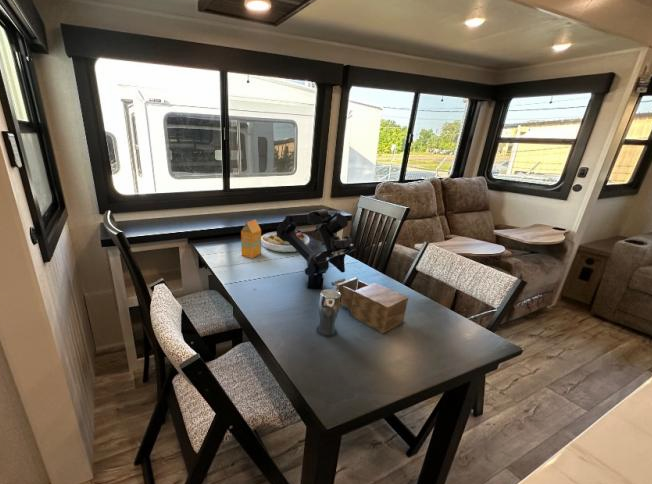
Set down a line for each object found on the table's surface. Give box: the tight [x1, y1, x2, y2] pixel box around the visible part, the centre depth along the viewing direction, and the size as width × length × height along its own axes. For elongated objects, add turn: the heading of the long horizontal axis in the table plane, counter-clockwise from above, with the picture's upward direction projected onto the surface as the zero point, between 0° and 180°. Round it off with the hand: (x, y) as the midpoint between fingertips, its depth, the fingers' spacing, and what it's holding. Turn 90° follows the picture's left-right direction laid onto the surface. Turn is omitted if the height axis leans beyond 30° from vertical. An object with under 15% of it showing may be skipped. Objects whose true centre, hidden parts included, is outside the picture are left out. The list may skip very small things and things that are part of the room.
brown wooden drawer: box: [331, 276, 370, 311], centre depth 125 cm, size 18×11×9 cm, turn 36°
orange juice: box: [240, 218, 262, 259], centre depth 175 cm, size 8×9×20 cm
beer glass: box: [317, 288, 341, 337], centre depth 107 cm, size 7×7×15 cm
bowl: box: [261, 228, 310, 253], centre depth 193 cm, size 30×30×8 cm
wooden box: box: [350, 282, 409, 334], centre depth 116 cm, size 15×13×11 cm
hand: (343, 272), depth 127 cm, fingers closed
